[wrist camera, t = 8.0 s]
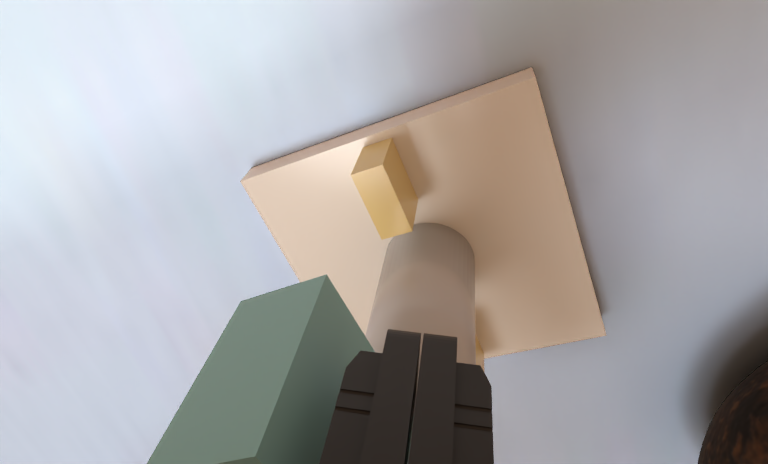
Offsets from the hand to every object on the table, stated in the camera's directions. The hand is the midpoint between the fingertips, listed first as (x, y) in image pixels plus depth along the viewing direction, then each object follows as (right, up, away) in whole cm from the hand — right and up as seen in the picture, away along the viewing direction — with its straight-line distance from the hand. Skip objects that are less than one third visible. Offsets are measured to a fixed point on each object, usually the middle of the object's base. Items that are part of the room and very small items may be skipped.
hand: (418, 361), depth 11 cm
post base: (+2, +2, +16) cm, 16 cm away
